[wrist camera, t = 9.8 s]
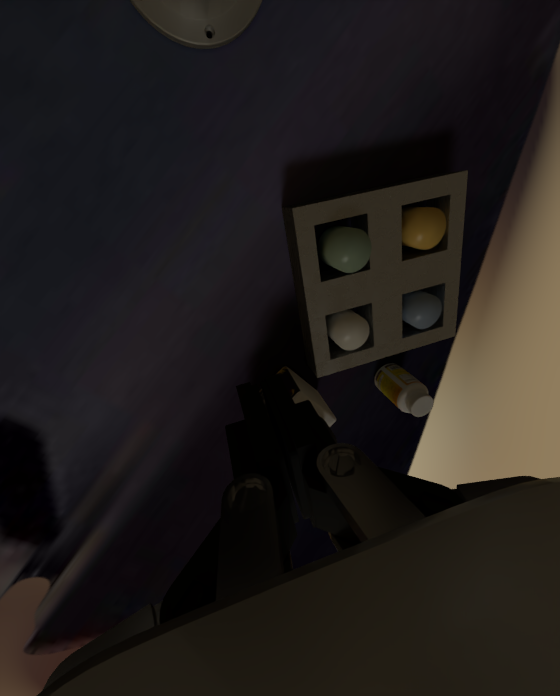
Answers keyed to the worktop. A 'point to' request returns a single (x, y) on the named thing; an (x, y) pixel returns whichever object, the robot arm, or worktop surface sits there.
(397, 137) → the worktop surface
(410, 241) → the amber rounded lump
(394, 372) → the supplement bottle
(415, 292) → the slate button
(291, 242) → the panel
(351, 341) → the ivory button
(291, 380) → the medicine bottle
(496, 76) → the worktop surface
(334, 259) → the sage button
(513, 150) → the worktop surface
